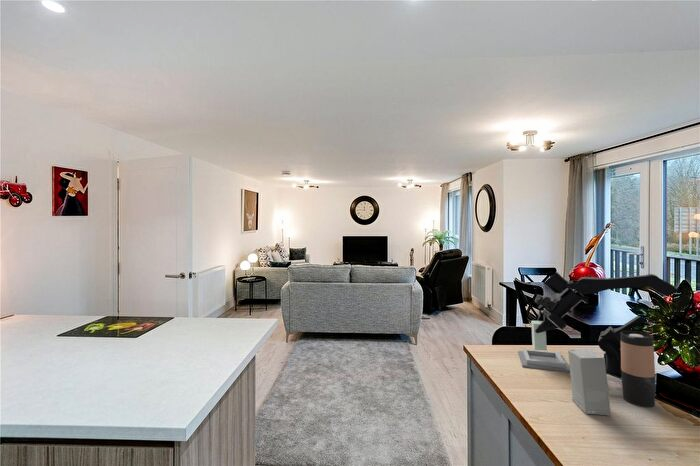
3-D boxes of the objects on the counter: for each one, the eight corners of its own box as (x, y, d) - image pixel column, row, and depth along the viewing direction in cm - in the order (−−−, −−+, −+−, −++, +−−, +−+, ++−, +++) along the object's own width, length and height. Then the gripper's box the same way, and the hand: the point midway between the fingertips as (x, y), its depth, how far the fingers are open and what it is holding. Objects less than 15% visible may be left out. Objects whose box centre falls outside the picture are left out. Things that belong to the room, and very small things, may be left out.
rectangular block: (543, 346, 131) (542, 321, 132) (546, 350, 127) (545, 324, 127) (532, 345, 133) (531, 320, 133) (534, 349, 128) (533, 323, 128)
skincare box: (611, 416, 91) (609, 359, 91) (582, 414, 93) (580, 357, 93) (595, 401, 99) (593, 348, 100) (568, 399, 101) (567, 347, 101)
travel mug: (647, 396, 101) (645, 331, 101) (661, 409, 94) (659, 338, 94) (617, 393, 104) (615, 329, 104) (628, 405, 97) (626, 336, 97)
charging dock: (562, 356, 135) (561, 351, 135) (572, 372, 120) (571, 366, 120) (518, 352, 141) (518, 347, 141) (522, 367, 126) (522, 360, 126)
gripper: (542, 284, 138) (514, 310, 141) (554, 291, 120) (521, 321, 123) (565, 303, 135) (536, 329, 138) (580, 314, 117) (546, 343, 121)
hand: (534, 330), depth 130 cm, fingers closed on rectangular block, 5 cm apart
